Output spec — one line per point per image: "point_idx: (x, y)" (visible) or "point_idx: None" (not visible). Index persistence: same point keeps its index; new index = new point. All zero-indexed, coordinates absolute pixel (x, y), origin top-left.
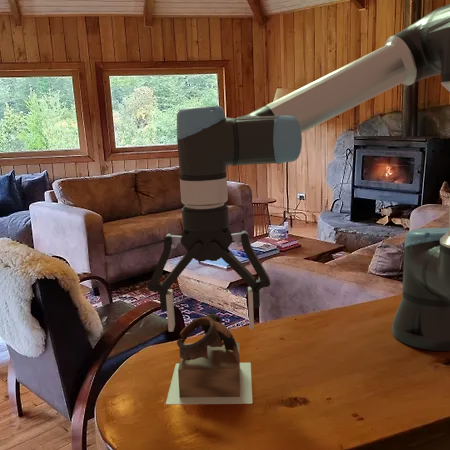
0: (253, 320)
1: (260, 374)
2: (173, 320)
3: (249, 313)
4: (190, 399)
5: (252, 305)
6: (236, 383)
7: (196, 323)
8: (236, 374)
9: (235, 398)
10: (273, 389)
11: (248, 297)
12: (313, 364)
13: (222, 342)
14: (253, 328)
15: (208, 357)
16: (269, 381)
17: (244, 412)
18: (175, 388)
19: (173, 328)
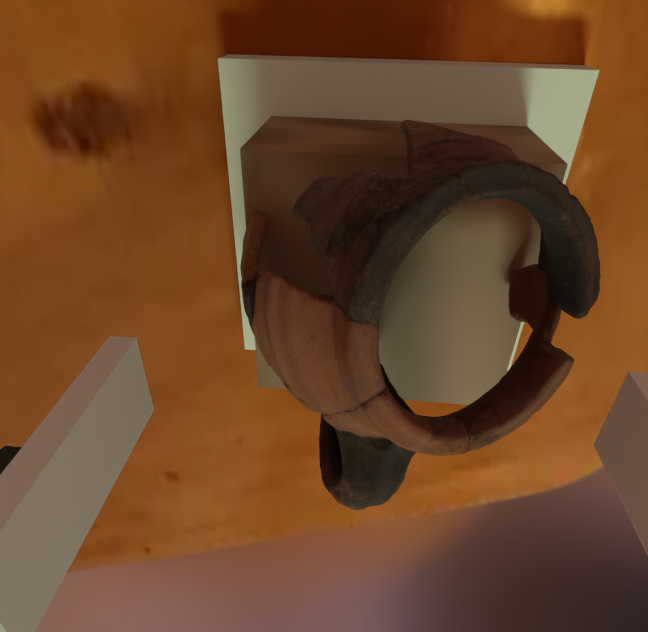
0: (83, 372)
1: (218, 305)
2: (633, 451)
3: (80, 409)
4: (480, 107)
5: (18, 457)
6: (272, 129)
7: (467, 418)
8: (261, 141)
9: (289, 104)
10: (166, 210)
11: (1, 524)
12: (61, 343)
13: (300, 211)
14: (111, 338)
15: (401, 126)
16: (185, 261)
17: (259, 52)
18: None
19: (621, 399)
